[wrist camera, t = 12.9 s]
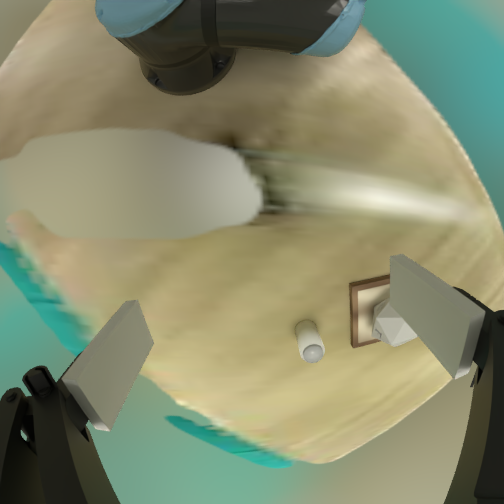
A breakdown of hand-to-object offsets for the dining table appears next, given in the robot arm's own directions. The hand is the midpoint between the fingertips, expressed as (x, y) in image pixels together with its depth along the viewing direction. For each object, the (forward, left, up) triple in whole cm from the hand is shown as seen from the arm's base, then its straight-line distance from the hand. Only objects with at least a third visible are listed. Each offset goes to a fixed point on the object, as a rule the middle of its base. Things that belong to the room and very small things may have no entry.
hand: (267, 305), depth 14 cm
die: (+21, +20, -29) cm, 41 cm away
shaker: (+22, +5, -31) cm, 38 cm away
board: (+21, +20, -31) cm, 42 cm away
